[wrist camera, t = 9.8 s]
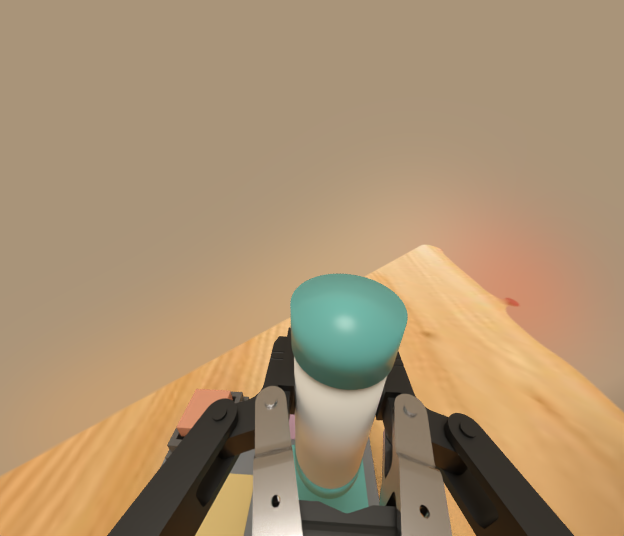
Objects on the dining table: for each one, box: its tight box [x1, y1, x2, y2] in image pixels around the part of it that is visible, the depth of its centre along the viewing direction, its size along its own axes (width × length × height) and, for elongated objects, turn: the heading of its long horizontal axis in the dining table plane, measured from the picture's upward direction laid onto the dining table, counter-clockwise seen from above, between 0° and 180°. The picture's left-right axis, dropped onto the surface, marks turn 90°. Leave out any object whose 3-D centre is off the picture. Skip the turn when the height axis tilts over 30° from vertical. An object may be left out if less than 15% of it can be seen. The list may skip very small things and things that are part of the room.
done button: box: [176, 389, 233, 436], centre depth 22 cm, size 4×4×2 cm
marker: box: [291, 274, 407, 499], centre depth 11 cm, size 4×4×12 cm
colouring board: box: [162, 392, 379, 536], centre depth 20 cm, size 20×13×4 cm, turn 87°
